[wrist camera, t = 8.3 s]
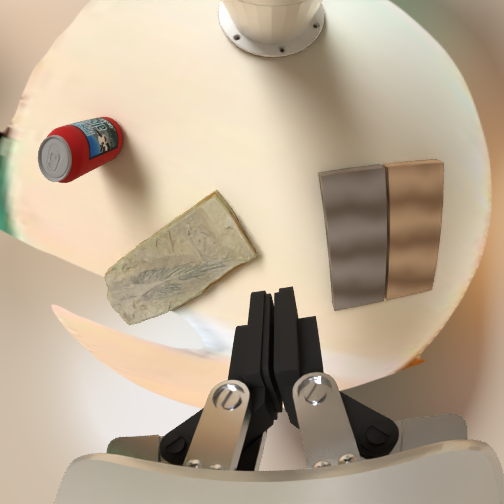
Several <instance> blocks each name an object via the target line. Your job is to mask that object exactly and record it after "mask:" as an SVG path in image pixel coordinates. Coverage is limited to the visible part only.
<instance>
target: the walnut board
mask: <svg viewBox="0 0 504 504" xmlns="http://www.w3.org/2000/svg"><path fill="white" fill-rule="evenodd" d="M383 167H384V168H385V177H386V198H387V257H386V277H385V292H384V296H385V298H386V300H390V299H394V298H399V297H404V296H408V295H412V294H417V293H421V292H425V291H429V290H432V287H433V282H434V276H435V270H436V264H437V257H438V250H439V242H440V233H441V222H442V208H443V184H444V163H443V162H441V161H439V160H437V159H435V160H421V161H409V162H398V163H388V164H383Z"/></svg>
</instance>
